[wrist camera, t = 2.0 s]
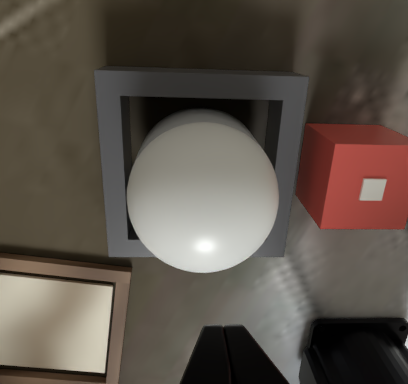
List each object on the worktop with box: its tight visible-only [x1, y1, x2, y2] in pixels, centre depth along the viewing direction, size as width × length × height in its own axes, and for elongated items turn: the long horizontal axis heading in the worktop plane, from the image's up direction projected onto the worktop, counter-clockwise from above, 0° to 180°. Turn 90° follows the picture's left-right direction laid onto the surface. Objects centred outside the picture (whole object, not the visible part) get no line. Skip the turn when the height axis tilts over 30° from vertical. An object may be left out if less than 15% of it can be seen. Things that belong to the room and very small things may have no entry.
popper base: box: [94, 66, 408, 257], centre depth 17 cm, size 14×9×4 cm, turn 88°
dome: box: [127, 107, 279, 273], centre depth 15 cm, size 6×6×6 cm
